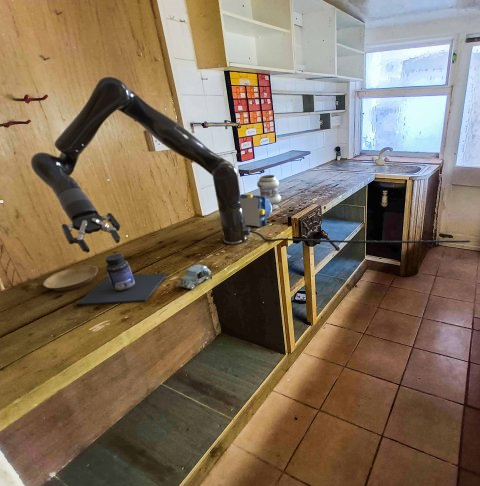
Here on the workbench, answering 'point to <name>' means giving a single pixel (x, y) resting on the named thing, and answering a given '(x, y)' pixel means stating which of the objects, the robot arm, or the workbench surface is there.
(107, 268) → the pill bottle
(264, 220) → the valve
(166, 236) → the workbench surface
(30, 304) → the workbench surface
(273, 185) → the apothecary jar
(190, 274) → the toy car
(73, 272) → the plant saucer
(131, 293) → the mat
